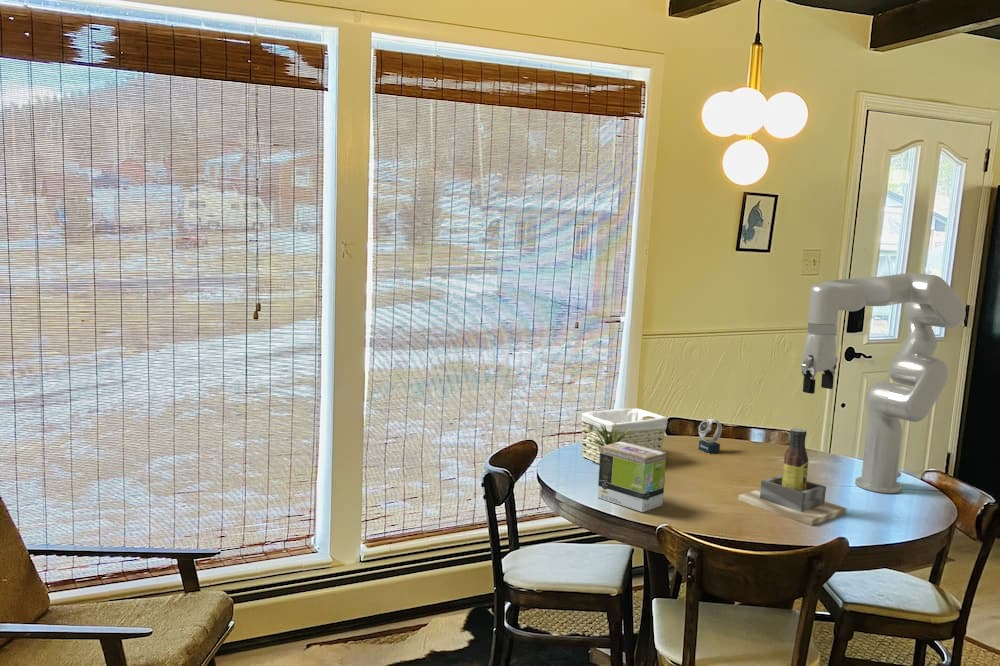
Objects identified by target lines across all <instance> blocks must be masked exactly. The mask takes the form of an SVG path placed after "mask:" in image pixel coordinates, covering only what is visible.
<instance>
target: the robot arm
mask: <svg viewBox="0 0 1000 666" xmlns="http://www.w3.org/2000/svg"><path fill="white" fill-rule="evenodd" d="M808 303H809V307H808V317H807V318H808V319H807V332H806V334H807V335H806V338H805V342H804V347H803V353H802V363H801V374H802V378H803V380H802V381H803V383H802V392H803V393H805V394H811V395H814V394H815V392H816V379H815V378H816V375H817V373H819V372H823V373H821V384H820V386H821V388H822V389H828V390H832V389H834V378H835V374H836V371H835V370H836V368H837V363H838V356H837V355H836V354H837V333H838V320H839V311H844V312H845V311H847V312H857V311H860V310H861V309H863V308H864V307H867V306H868V307H887V306H893V305H899V304H905V306H904V315H905V320H906V325H907V335H906V338H905V340H904V342H903V344H902V346H901V347H900V349H899V350H898V352H897V353H896V355H895V357H894V359H893V360H892V362H891V364H890V365H889V368H888V376H889V377H890V379H891V380H892V381H893V382H887V381H880V382H876V383H873V384H872V385H871V386H870V387H869V388H868V389H867V392H866V397H865V398H866V400H865V401H866V409H867V423H866V424H867V425H866V433H865V441H864V442H865V443H864V451H863V458H862V459H863V460H862V467H861V468H862V469H861V476H859V477H857V478H855V480H854V483H855V485H856V486H858V487H860V488H862V489H864V490H867V491H871V492H876V493H880V494H881V493H882V494H897V493H900V492H901V491H902V488H903V487H902V485H900V484H899V483H898V482H897V480H898V478H900V477H901V476H902V473H901V472H900V471H899V465H900V464H899V462H900V454H901V447H902V439H903V438H902V437H903V428H902V427H903V426H902V423H901V420H903V421H908V422H912V423H913V422H914V423H918V422H921V421H923V420H924V419H925V418H926V417H927V416H928V415H929V414H930V411H931V410H932V408H933V406H934V405H935V404H936V402H937V400H938V398H939V397H940V395H941V393H942V392H943V390H944V388H945V386H946V384H947V381H948V378H949V369H948V366H947V364H946V363H945V361H943V360H942V359H940V358H936V357H934V356H933V355H934V354H935V351H936V350H937V346H938V343H937V337H936V335H935V332H934V329H933V327H938V328H944V329H954V328H957V327H959V326H960V325H962V324H963V322H964V320H965V319H966V314H967V313H966V307H965V304H964V303H963V301H962V299H960V297H959V296H958V295H957V293H956V292H955V291H954V289H952V287H951V286H950V285H949V284H948V282H946V281H945V280H944V279H943V278H941V277H940V276H938V275H935V274H928V273H926V274H925V273H915V272H905V273H897V274H891V275H890V274H889V275H881V276H873V277H872V276H871V277H870V276H868V277H858V278H857V277H856V278H840V279H833V280H827V281H824V282H821V283H819V284H814V285H812V286H811V288H810V292H809V301H808ZM894 382H895V383H894ZM897 383H898V384H897Z"/></svg>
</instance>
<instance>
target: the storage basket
mask: <svg viewBox="0 0 1000 666" xmlns="http://www.w3.org/2000/svg"><path fill="white" fill-rule="evenodd" d="M580 420H581V424H580V425H581V456H582V457H583V458H585V459H587V460H590V461H591V462H595V463H596V464H599V453H600V450H601V449H600V450H599V446H598V445H597V444H599V443H596V442H593V441H594V440H599V441H600V442H601V440H600V438H599V436H600V437H601V439H602V441H603V443H604V445H606V444H605V443H606V442H604V440H603V438H602V437H603V436H601V435H602V434H600V433H599V431H601V432H602V433H603V430H602V428H601V425H602V426H603V424H604V425H605V427H606V430H607V435H608V438H609V435H611V433H612V429H613V433H614V432H615V431H616V428H617V426H618V434H617V437H616V441H615V443H616V442H617V440H618V438H619V437H620V436H621V435H622V434H623V433H624V432H625V431H626V430H628V429H630V428H633V429H631V430H629V431H628V432H627V433H628V434H626V435H625V436H624V437H623V438H622V439H621V440H620V442H621V441H622V442H628V443H630V444H634V445H639V446H642V447H646V448H650V449H654V450H658V451H662V449H663V444H664V438H665V435H666V434H665V433H666V430H667V428H668V417H667V416H663V415H661V414H657V413H656V412H655V413H653V412H651V411H648V410H644V409H641V408H637V407H636V408H616V409H607V410H606V409H605V410H593V411H586V412H582V414H581V419H580ZM588 423H589V424H588ZM591 424H592V425H591ZM600 424H601V425H600ZM614 424H615V425H614ZM593 425H594V426H593ZM595 426H596V427H597V428H596V427H595ZM613 426H614V428H613ZM603 427H604V426H603ZM619 427H620V428H619ZM597 429H598V430H599V431H597ZM604 429H605V428H604ZM596 433H597V434H598V435H599V436H598V435H597V434H596ZM613 433H612V435H613ZM603 434H604V433H603ZM614 435H615V433H614ZM614 435H613V438H614ZM601 443H602V442H601ZM600 446H601V445H600ZM599 465H600V464H599Z"/></svg>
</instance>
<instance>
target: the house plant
mask: <svg viewBox="0 0 1000 666" xmlns="http://www.w3.org/2000/svg"><path fill="white" fill-rule="evenodd" d="M588 424H589V423H588ZM591 425H592V424H591ZM600 425H601V424H600ZM614 425H615V424H614ZM593 426H594V425H593ZM603 426H604V427H603ZM603 426H602V425H601V428H602V430H603V433H604V434H603V433H602V432H601V431H599V430H598V429H597V431H599V433H600V434H602V435H601V436H603V437H602V438H603V440H604V442H606V443H605V444H606V445H608V444H613V443H615V441H616V437H617V434H618V426H617V428H616V431H615V432H614V433H615V435H614V433H613V429H612V433H613V435H614V438H613V435H612V433H611V435H609V438H608V435H607V430H606V427H605V425H604V424H603ZM595 427H596V426H595ZM596 428H597V427H596ZM604 428H605V429H604ZM613 428H614V426H613ZM619 428H620V427H619ZM631 429H633V428H630V429H628V430H626V431H625V432H624V433H623V434H622V435H621V436H620V437H619V438H618V440H617V442H620V440H621V439H622V438H623V437H624V436H625V435H626V434H628V433H627V432H628V431H629V430H631ZM596 434H597V433H596ZM597 435H598V434H597ZM598 436H599V435H598ZM599 438H600V440H601V442H602V443H601V442H600V441H599V440H594V441H593V442H596V443H599V444H597V445H598V446H599V450H600V449H601V446H604V443H603V441H602V439H601V437H600V436H599ZM617 442H616V443H617ZM626 443H628V442H626ZM600 445H601V446H600ZM599 465H600V453H599Z"/></svg>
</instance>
